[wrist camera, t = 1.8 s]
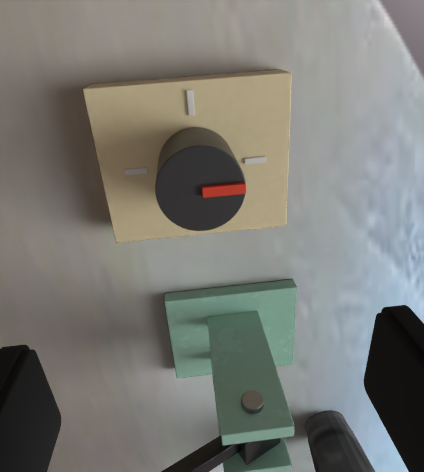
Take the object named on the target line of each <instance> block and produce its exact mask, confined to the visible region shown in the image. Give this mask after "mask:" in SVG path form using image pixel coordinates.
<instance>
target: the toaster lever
mask: <svg viewBox="0 0 424 472" xmlns="http://www.w3.org/2000/svg"><path fill="white" fill-rule="evenodd" d="M280 440H281V438H276V439H269V440H261V441H254V442H246V443H239V444H231V445H222V440H221V436H219V437H217V438H216V439H214V440H212V441H211V442H209V443H207V444H206V445H204V446H203V447H201V448H199V449H198V450H196V451H194V452H193V453H191V454H189V455H188V456H186V457H185V458H183V459H181V460H180V461H178V462H176V463H175V464H173V465H171V466H170V467H168V468H167V469H165V470H163V471H162V472H209V471H210V470H212V469H213V468H215V467H216V466H218V465H220V464H221V463H223V462H224V461H226V460H227V459H229V458H230V457H232V456H233V455H235V454H237V453H238V454H239V455H240V457H241V458H242V460H243V461H244V463H245V464H246V465H248V464H250V463H251V462H252V461H254V460H255V459H257V458H258V457H260V456H261V455H263V454H264V453H266V452H267V451H269V450H270V449H272V448H273V447H275V446H276V445H278V444H279V443H280Z"/></svg>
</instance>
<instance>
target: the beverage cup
mask: <svg viewBox="0 0 424 472" xmlns="http://www.w3.org/2000/svg"><path fill="white" fill-rule="evenodd" d="M305 428H306V432H307V436H308V443H309V447H310V451H311V455H312V459H313V463H314V467H315V471H316V472H375V470H374V468H373V467H372V465H371V463H370V461H369V460H368V458H367V456H366V454H365V453H364V451H363V449H362V447H361V445H360V444H359V442H358V440H357V438H356V437H355V435H354V433H353V431H352V430H351V428H350V427H349V425H348V424H347V422H346V421H345V419H344V417H343V415H342V414H340V413H339V412H335V411H325V412H321V413H318V414H316V415H314V416H313V417H311V418H310V419H309V420H308V422H307V423H306V426H305Z"/></svg>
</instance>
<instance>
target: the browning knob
mask: <svg viewBox="0 0 424 472" xmlns="http://www.w3.org/2000/svg"><path fill="white" fill-rule="evenodd" d="M155 194H156V199H157V202H158V205H159V207H160V209H161V211H162V212H163V214H164V215H165V216H166V217H167V218H168V219H169V220H170V221H171V222H173V223H174V224H176V225H177V226H180V227H182V228H184V229H187V230H192V231H207V230H212V229H215V228H218V227H220V226H222V225H224V224H226V223H227V222H228V221H230V220H231V219H232V218H233V217H234V216H235V215H236V213H237V212H238V211H239V209H240V208H241V206H242V204H243V201H244V198H245V194H246V181H245V177H244V173H243V171H242V169H241V167H240V165H239V163H238V161H237V160H236V158H235V156H234V154H233V152H232V150H231V148H230V147H229V145H228V143H227V142H226V141H225V140H224V139H223V138H222V137H221V136H220V135H219V134H217V133H216V132H214V131H212V130H209V129H206V128H201V127H192V128H186V129H183V130H181V131H179V132H177V133H175V134H174V135H172V136H171V137H170V138H169V139H168V140H167V141H166V142H165V144H164V145H163V147H162V149H161V152H160V154H159V159H158V167H157V175H156V183H155Z"/></svg>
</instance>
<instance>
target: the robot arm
mask: <svg viewBox="0 0 424 472" xmlns="http://www.w3.org/2000/svg"><path fill="white" fill-rule="evenodd" d="M364 386H365V390H366V393H367V395H368V397H369V398H370V400H371V402H372V404H373V406H374V408H375V409H376V411H377V413H378V415H379V417H380V419H381V421H382V422H383V424H384V426H385V428H386V430H387V432H388V434H389V435H390V437H391V439H392V441H393V443H394V445H395V447H396V448H397V450H398V452H399V454H400V456H401V458H402V460H403V461H404V463H405V465H406V467H407V469H408V471H409V472H424V324H423V323H422V321H421V320H420V319H419V318H418V317H417V316H416V315H415V313H414V312H413V311H412V310H411V309H410V308H409V307H408V306H406V305H402V306H392V307H384V308H383V309H382V311H381V313H378V314H377V315H376V319H375V324H374V330H373V335H372V340H371V345H370V350H369V356H368V361H367V366H366V371H365V376H364ZM60 426H61V415H60V412H59V409H58V407H57V404H56V401H55V399H54V396H53V394H52V391H51V389H50V386H49V384H48V381H47V379H46V376H45V374H44V371H43V369H42V366H41V363H40V361H39V358H38V356H37V353H36V351H35V350H30V349H29V347H28V346H27V345H18V346H8V347H2V348H1V349H0V472H47V470H48V466H49V463H50V460H51V456H52V453H53V450H54V447H55V443H56V440H57V437H58V434H59V430H60Z"/></svg>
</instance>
